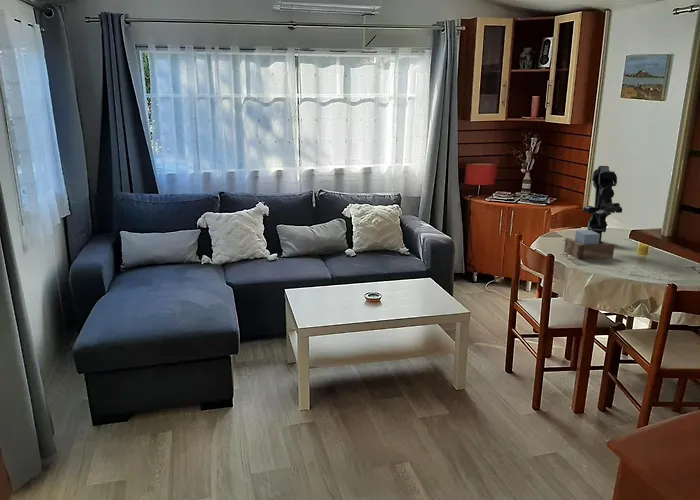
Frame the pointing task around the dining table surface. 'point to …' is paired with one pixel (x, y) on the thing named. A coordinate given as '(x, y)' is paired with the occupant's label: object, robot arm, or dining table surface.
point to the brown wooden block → (588, 250)
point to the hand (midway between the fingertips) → (600, 225)
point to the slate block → (587, 237)
